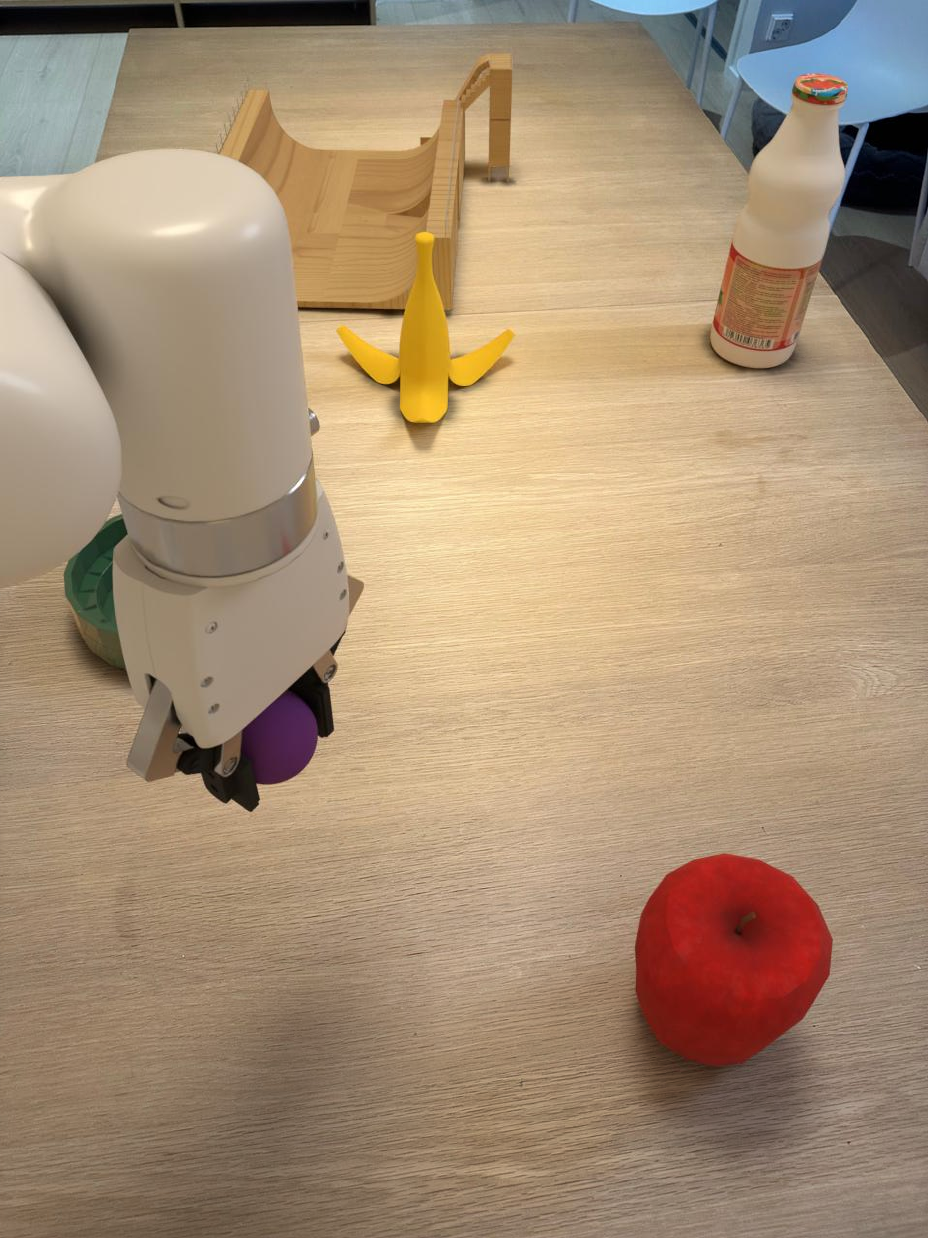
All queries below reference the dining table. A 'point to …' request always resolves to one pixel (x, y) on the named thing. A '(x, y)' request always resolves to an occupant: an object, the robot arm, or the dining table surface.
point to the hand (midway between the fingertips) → (271, 755)
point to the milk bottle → (782, 230)
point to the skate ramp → (372, 196)
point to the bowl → (96, 592)
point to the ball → (280, 739)
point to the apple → (728, 958)
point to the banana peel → (424, 349)
